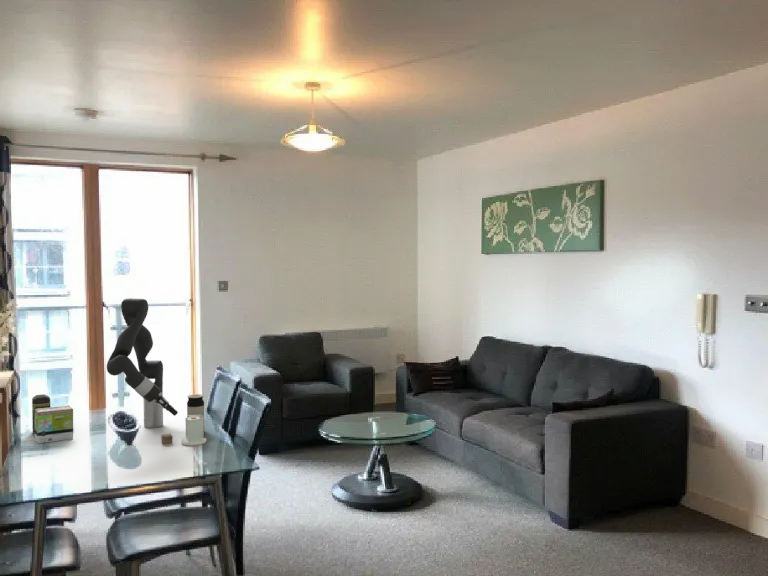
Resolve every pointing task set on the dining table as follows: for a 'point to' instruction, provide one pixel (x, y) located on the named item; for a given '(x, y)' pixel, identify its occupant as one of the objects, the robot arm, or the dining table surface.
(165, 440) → the block
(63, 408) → the tea box
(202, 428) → the tall white lidded box
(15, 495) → the dining table surface
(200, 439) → the pale grey boxy piece
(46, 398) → the coffee jar
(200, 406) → the travel mug
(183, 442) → the dish
